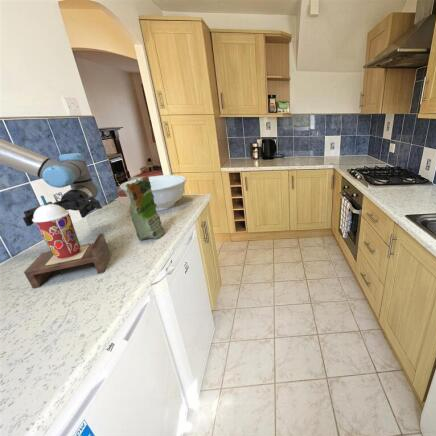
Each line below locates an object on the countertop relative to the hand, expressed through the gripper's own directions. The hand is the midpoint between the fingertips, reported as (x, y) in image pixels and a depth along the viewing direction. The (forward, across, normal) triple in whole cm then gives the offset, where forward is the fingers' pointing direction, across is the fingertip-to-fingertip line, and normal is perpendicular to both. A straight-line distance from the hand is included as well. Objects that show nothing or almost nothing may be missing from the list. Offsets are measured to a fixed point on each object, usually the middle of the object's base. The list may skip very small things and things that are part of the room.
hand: (54, 217), depth 76 cm
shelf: (+2, 0, -18) cm, 19 cm away
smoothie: (+2, 0, -12) cm, 13 cm away
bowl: (-54, -24, -19) cm, 62 cm away
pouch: (-14, -22, -19) cm, 32 cm away
